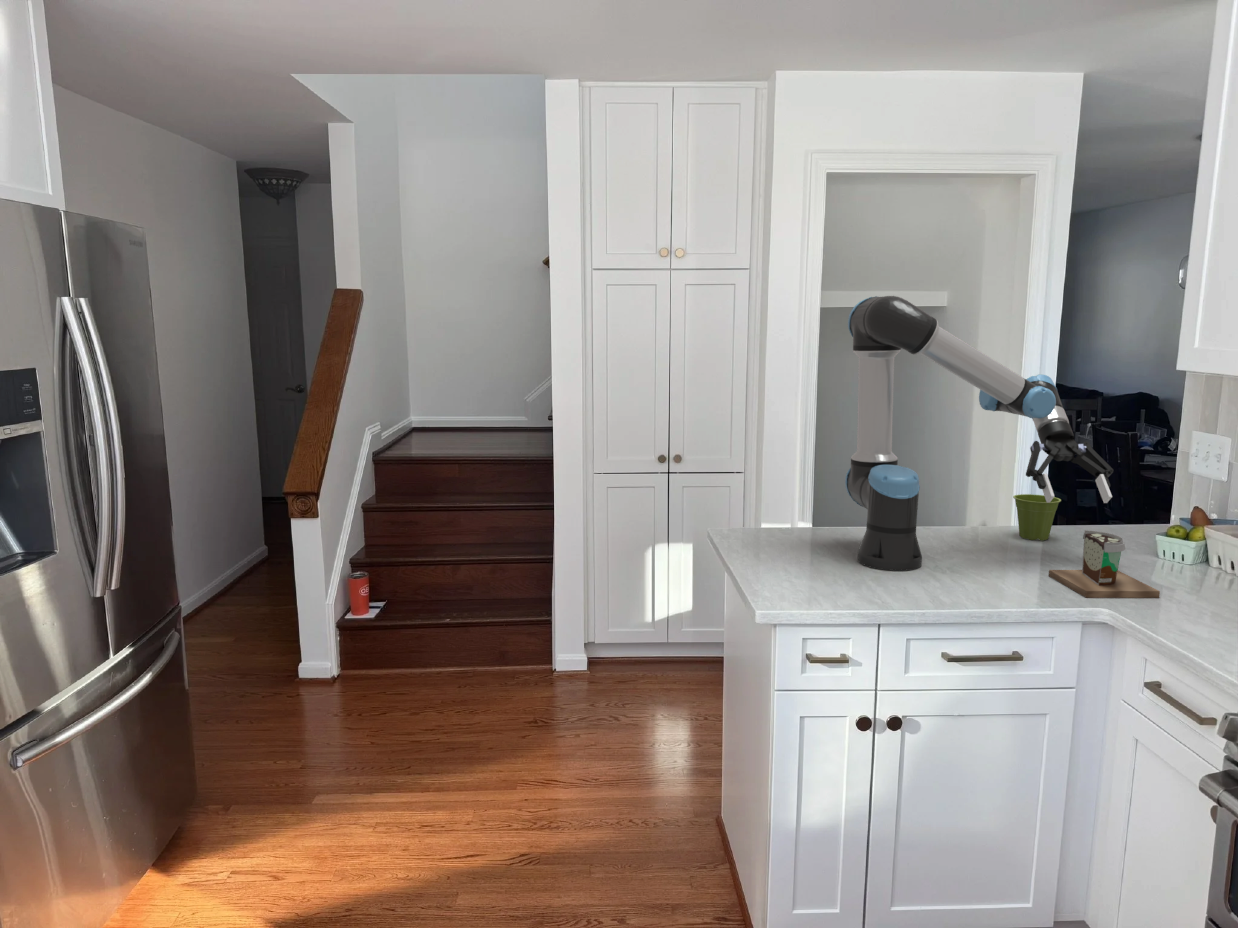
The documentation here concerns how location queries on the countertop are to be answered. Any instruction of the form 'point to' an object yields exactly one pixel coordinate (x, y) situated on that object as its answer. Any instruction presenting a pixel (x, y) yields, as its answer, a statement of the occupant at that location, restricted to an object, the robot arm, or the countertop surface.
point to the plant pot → (1035, 515)
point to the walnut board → (1089, 589)
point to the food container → (1101, 556)
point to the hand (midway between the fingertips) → (1079, 499)
